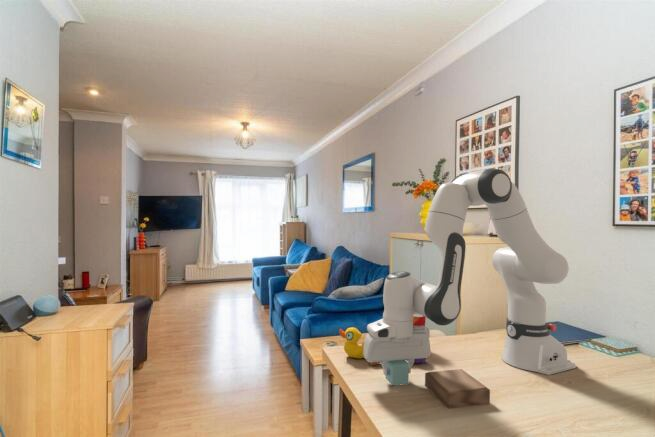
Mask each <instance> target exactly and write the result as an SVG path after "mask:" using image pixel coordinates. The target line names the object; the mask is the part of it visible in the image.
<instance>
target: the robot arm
mask: <svg viewBox="0 0 655 437" xmlns="http://www.w3.org/2000/svg"><path fill="white" fill-rule="evenodd" d="M482 205H485V206H486V207H487V210H488V211H487V212H488V214H489V217H490V220H491V223H492V224H493V225H492V226H493V227H494V230H495V232H496V233H495V234H496V235H497V236H496V237H497V238H498V239H499V240H500V241H501V242H502V243H504V244H505V245H506V247H500V248H498V249H497V250H496V251H495V252H494V253H493V255H492V260H491V262H492V265H493V268H494V270H495V271H496V272H497V273H498V275H499V276H500V277H501V279H502V282H503V284H504V287H505V291H506V294H507V317H506V325H505V328H506V336H505V344H504V349H503V351H502V352H503V353H502V354H501V359H502V360H503V361H504V362H505V363H506V364H508V365H510V366H513V367H514V368H518V369H521V370H526V371H530V372H535V373H540V374H543V375H547V376H550V375H554V374H558V373H561V372H565V371H569V370H572V369H576V368H577V365H576V362H574V361H572V360H571V359H569V358H568V351H567V348H566V346H565V345H564V344H562V343H561V342H560V341H559V340H558V339H556V338H555V337H554V336H552V335H551V332H550V331H552V332H556V330H557V326H556V325H555V324H552V323H549V324H548V323H546V321H547V320H546V316H547V314H546V312H547V310H546V309H547V307H546V306H547V301H546V299H545V298H544V296H543V295H542V294H541V293H540V292H539V290H537V289H536V287H535V284H534V283H538V284H541V285H543V284H544V285H545V284H546V285H551V284H560V283H562V282H563V281H565V279H566V278H567V277H568V274H569V269H570V268H569V267H570V266H569V264H568V261H567V259H566V257H565V256H564V255H562V254H561V253H559V252H557V251H556V250H555V249H553V248H552V247H551V246H550V245H549V244H548V243H547V242H546V241H545V240H544V239H543V238H542V236H541V235H540V234H539V233H538V231H537V229H536V227H535V226H534V223H533V221H532V218H531V216H530V213H529V211H528V208H527V205H526V203H525V201H524V198H523V196H522V194H521V193H520V191H519V189H518V187H517V186H516V185H515V183H513V182H512V179H511V178H510V176H509V175H508V173H507V172H505V171H504V170H502V169H499V168H488V169H480V170H475V171H471V172H468V173H465V174H459V175H457V176H455V177H452V179H450V181H448V182H445V183H443V184H441V185H440V186H439V187H438V188H437V190H436V192H435V194H434V196H433V199H432V200H431V204H430V206H429V209H428V212H427V216H426V218H425V223H424V226H425V228H424V232H425V234H426V236H427V237H428V239H429V240H430V242H432V243H433V244H434V245H435V246H436V247H437V248H438V249H439V251H440V254H441V263H440V264H441V265H440V270H439V276H438V281H437V285H435V284H432V283H429V282H426V281H424V280H421V279H419V278H416V277H415V276H414V275H413V274H412V273H411V272H408V271H395V272H391V273H389V274H388V275H387V276H386V277H385V279H384V285H383V296H382V297H383V298H382V302H383V307H384V309H383V310H384V311H383V313H382V318H381V319H379V320H376V321H373V322H370V323H368V324H367V326H366V330H367V332H368V333H367V334H366V335H365V338H364V340H365V341H364V340H363V341H364V350H363V355H364V359H365V360H366V361H367V362H368V363H369V362H380V364H381V367H382V368H383V375H384V376H385V377H386V376H387V375H390V369H389V368H388V367H386V364H387V361H393V360H405V361H407V360H408V361H407V362H408V363H409V374H411V369H412V367H413V365H414V363H415V362H414V359H418V358H427V359H428V358H429V357H430V356H431V342H430V334H431V333H430V330H429V329H430V328H428V327H427V326H426V325H425V326H413V315H414V314H415V313H419V314H420V315H422V316H425V317H426V319H428V320H430V321H432V322H433V323H434V324H436V325H437V326H447V325H450V324H452V323H454V321H455V320H457V319H458V317H459V315H460V313H461V309H462V297H461V290H462V289H461V288H462V282H463V281H462V280H463V273H464V266H465V259H466V249H467V248H466V240H465V238H464V234H463V233H464V226H465V221H466V217H467V212H468V209H469V207H475V206H482ZM406 359H407V360H406Z"/></svg>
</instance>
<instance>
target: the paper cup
mask: <svg viewBox="0 0 655 437" xmlns="http://www.w3.org/2000/svg"><path fill="white" fill-rule="evenodd" d="M426 319H427V317H425V316H422V315H420V314H419V313H415V314H414V315H413V326H425V327H426Z"/></svg>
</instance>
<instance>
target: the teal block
mask: <svg viewBox="0 0 655 437" xmlns="http://www.w3.org/2000/svg"><path fill="white" fill-rule="evenodd" d="M385 365H386V367H388V368H389V369H390V375H387V376H385V379H386V380H387V381H388V382H389V384H390V383H391V384H392V385H396V386H401V385H400V384H406V385H409V380H410V379H409V374H410V373H409V363H408V361H407V360H393V361H387V364H385ZM391 384H390V385H391ZM392 385H391V386H392Z"/></svg>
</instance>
